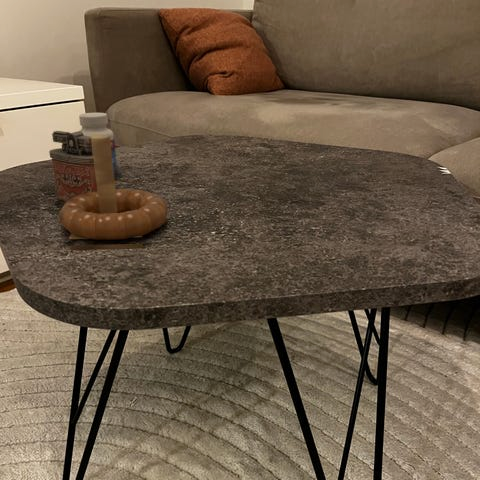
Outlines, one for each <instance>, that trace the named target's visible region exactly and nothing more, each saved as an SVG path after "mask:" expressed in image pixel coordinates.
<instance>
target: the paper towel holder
mask: <svg viewBox="0 0 480 480" xmlns="http://www.w3.org/2000/svg"><path fill="white" fill-rule="evenodd" d="M91 143H92V151H93V159H94V168H95V176H96V184H97V192H98V200H99V209H100V214H101V213H118V209H117V200H116V190H115V189H116V182H115V174H114V172H113V162H112V153H111V144H110V136H109V135H104V134H100V135H93V136H91ZM143 236H144V235H140V236H135V237H131V239H133V238H143ZM68 239H69V240H88V239H89V240H90V238H85V237H80V236H75V235H73V234H72V233H70V235H69V238H68ZM144 246H145V243H122V244H119V243H117V244H88V245H87V244H83V245H70V251H95V250H96V251H97V250H98V251H100V250H102V251H103V250H133V249H134V250H135V249H136V250H139V249H144Z"/></svg>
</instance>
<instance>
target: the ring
mask: <svg viewBox="0 0 480 480" xmlns="http://www.w3.org/2000/svg"><path fill="white" fill-rule="evenodd" d="M115 190H116V200H117V209H118V213H101V214H100V209H99V200H98V192H97V191H95V192H89V193H85V194H82V195H80V196H77V197H75V198H72V199H70V200H68V201H67V202H66V201H65V203H64V205H63V206H62V208H61V209H60V211H59V213H58V220H59V222H60V224H61V226H62V227H63V228H65V229H66V230H67V231H68V232H69V233H70V234H73V235H75V236H80V237H85V238H90V239H91V240H95V241H103V240H104V241H106V240H110V241H111V240H112V241H113V240H125V239H130V238H131V237H133V238H136V237H135V236H140V235H143V236H145V235H147V234H149V233H151V232H153V231H155V230H156V229H159V228H160V227H162V226H163V225H164V224H165V222H166V220H167V215H168V209H169V208H168V204H167V202H166V201H165V199H163V198H162V197H160V196H158V195H156V194H155V193H152V192H150V191H147V190H146V191H145V190H139V189H134V188H133V189H132V188H115ZM90 239H89V240H90ZM131 239H132V238H131Z"/></svg>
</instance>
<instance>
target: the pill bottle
mask: <svg viewBox="0 0 480 480" xmlns="http://www.w3.org/2000/svg"><path fill="white" fill-rule="evenodd" d="M78 117H79V126H81V129H79V130H78V131H80V132H82V133H83V135H84V136H90V137H91V136H93V135H100V134H104V135H109V136H110V144H111V153H112V162H113V172H114V175H116V174H117V173H118V166H117V165H118V164H117V156H116V155H117V154H116V145H115V135H114V131H113V130H111V128H108V124H109V120H108V119H109V118H108V114H107V113H105V112H85V113H80V114H79V115H78ZM92 152H93V151H92Z"/></svg>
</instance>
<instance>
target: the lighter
mask: <svg viewBox="0 0 480 480" xmlns="http://www.w3.org/2000/svg"><path fill="white" fill-rule="evenodd" d="M51 136H52V142H53V143H58V144H61V147H60V148H53V149H50V150H49V152H48V153H49V158H50V159H51V162H52V168H53V169H52V170H53V174H54V182H55V187H56V194H57V199H58V200H61V201H63V202H65V203H66V202H67V201H68V200H70V199H72V198H75V197H77V196H80V195H82V194H85V193H89V192H95V191H97V184H96V176H95V168H94V159H93V152H92V143H91V137H90V136H84V135H83V133H82V132H80V131H79V130H78V131H74V132H69V131H64V130H63V131H62V130H53V132H52V133H51Z"/></svg>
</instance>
